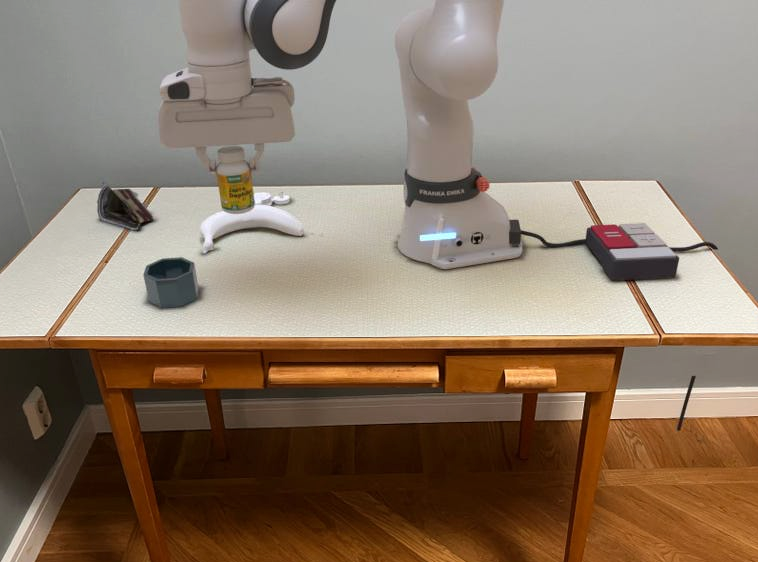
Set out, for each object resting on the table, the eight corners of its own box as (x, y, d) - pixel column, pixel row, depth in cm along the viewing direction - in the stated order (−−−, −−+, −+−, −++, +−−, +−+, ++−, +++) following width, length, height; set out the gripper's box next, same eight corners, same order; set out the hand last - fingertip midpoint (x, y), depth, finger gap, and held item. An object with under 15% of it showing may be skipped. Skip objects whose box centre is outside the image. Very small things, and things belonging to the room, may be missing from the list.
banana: (309, 225, 145) (289, 259, 133) (217, 224, 148) (190, 257, 136) (306, 201, 142) (286, 234, 130) (212, 201, 145) (184, 233, 134)
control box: (646, 220, 134) (681, 253, 122) (642, 242, 137) (676, 277, 124) (586, 223, 134) (615, 257, 121) (583, 245, 136) (611, 281, 123)
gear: (272, 217, 148) (271, 207, 147) (234, 212, 151) (233, 202, 150) (292, 199, 156) (291, 189, 154) (255, 195, 158) (254, 185, 157)
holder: (200, 282, 126) (195, 256, 124) (196, 305, 120) (191, 278, 117) (153, 285, 126) (148, 259, 123) (147, 309, 120) (140, 281, 117)
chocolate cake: (168, 221, 149) (140, 170, 149) (141, 224, 143) (112, 170, 144) (143, 246, 154) (116, 196, 155) (116, 250, 148) (88, 198, 149)
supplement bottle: (246, 199, 123) (239, 141, 117) (260, 209, 119) (254, 151, 114) (216, 206, 120) (207, 148, 115) (229, 217, 117) (221, 158, 111)
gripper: (292, 71, 112) (299, 160, 120) (154, 78, 110) (170, 168, 118) (293, 82, 106) (300, 175, 114) (148, 89, 105) (165, 183, 113)
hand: (233, 171), depth 116 cm, fingers closed on supplement bottle, 5 cm apart
